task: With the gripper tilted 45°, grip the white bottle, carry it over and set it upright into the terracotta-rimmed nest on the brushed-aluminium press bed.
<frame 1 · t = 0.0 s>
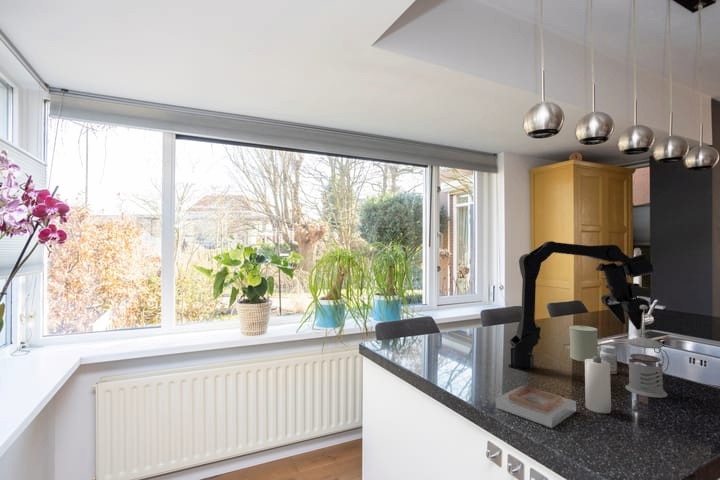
hand: (631, 326, 121), 15 cm above the worktop, tool pointing down, fingers open, 9 cm apart
pill bottle: (608, 372, 122), on the worktop
french press: (648, 391, 106), on the worktop
white bottle: (598, 408, 94), on the worktop
can: (583, 359, 137), on the worktop
press bed: (535, 409, 93), on the worktop
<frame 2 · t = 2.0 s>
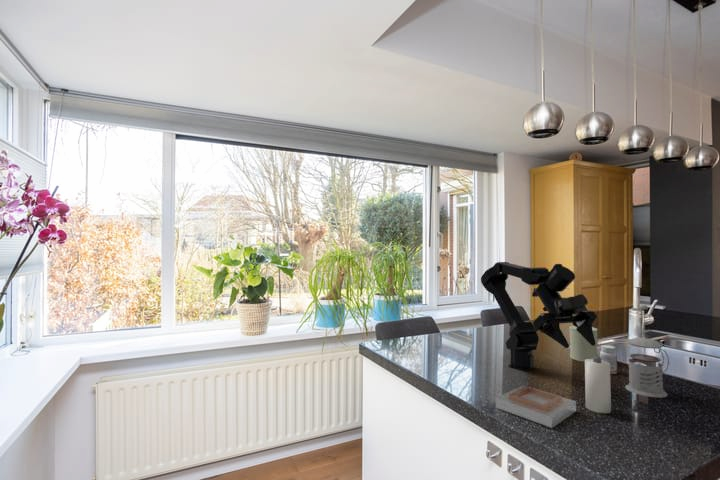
hand: (581, 346, 103), 14 cm above the worktop, tool tilted 40°, fingers open, 9 cm apart
nothing on the worktop moved.
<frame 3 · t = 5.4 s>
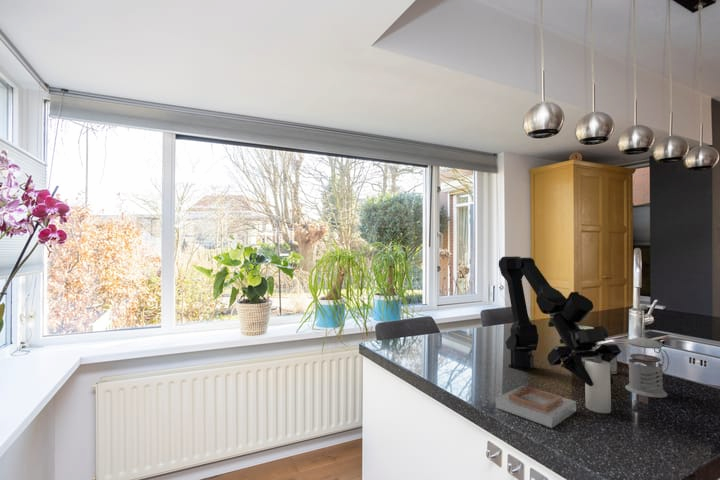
hand: (601, 384, 93), 7 cm above the worktop, tool tilted 45°, fingers closed on white bottle, 5 cm apart
white bottle: (598, 408, 94), on the worktop, touching gripper
everything else where it was.
when the fingers open (10 cm above the worktop, at t = 9.2 s): white bottle drops 1 cm, resting on press bed.
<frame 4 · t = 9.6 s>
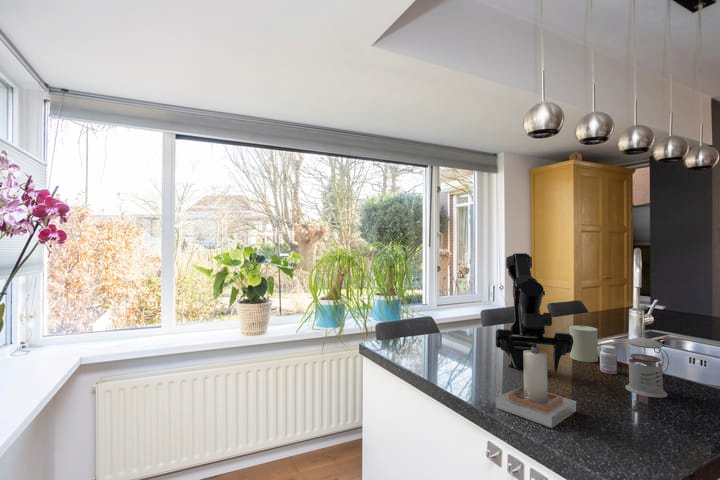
hand: (535, 369, 92), 11 cm above the worktop, tool tilted 45°, fingers open, 9 cm apart
white bottle: (535, 399, 94), point 3 cm above the worktop, touching press bed
everything else where it was.
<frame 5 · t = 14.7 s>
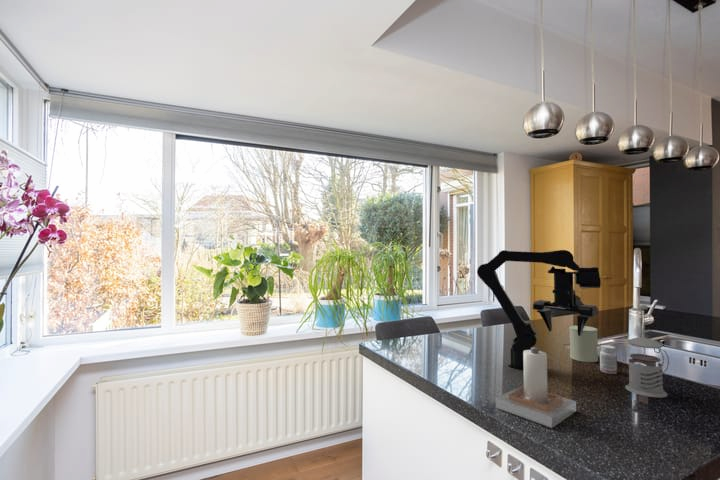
hand: (564, 333, 122), 13 cm above the worktop, tool pointing down, fingers open, 9 cm apart
nothing on the worktop moved.
at the end: white bottle 0.0 cm off-centre on the press bed, point 2.5 cm above the press bed's base; white bottle tilted 0°; the gripper is holding nothing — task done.
